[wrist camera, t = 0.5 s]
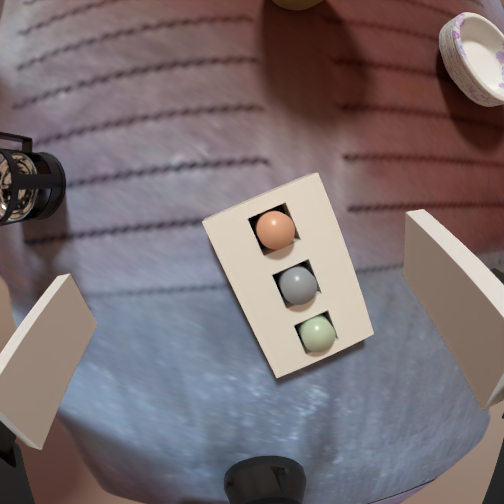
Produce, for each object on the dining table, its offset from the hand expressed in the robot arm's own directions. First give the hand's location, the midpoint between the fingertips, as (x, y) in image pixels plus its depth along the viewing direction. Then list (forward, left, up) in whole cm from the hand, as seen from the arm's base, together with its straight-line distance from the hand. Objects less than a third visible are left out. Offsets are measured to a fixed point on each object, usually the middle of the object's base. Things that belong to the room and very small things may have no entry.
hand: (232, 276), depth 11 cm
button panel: (-10, -4, -28) cm, 30 cm away
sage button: (-17, -4, -27) cm, 32 cm away
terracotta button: (-3, -4, -27) cm, 27 cm away
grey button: (-10, -4, -27) cm, 29 cm away
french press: (+16, +23, -28) cm, 40 cm away
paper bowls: (+9, -44, -28) cm, 53 cm away
